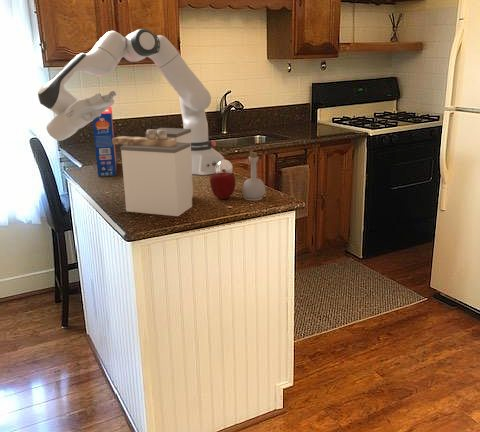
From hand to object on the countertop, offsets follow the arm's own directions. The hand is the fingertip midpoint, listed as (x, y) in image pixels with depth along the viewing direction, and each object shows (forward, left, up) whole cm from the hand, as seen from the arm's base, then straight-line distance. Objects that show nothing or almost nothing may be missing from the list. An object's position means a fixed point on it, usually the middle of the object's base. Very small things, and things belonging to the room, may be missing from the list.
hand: (107, 93), depth 187 cm
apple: (-37, +17, -39) cm, 56 cm away
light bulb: (-43, +5, -39) cm, 58 cm away
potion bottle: (-47, +23, -40) cm, 65 cm away
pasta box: (-9, -55, -40) cm, 68 cm away
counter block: (-15, +15, -39) cm, 45 cm away
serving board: (-8, +16, -16) cm, 24 cm away
